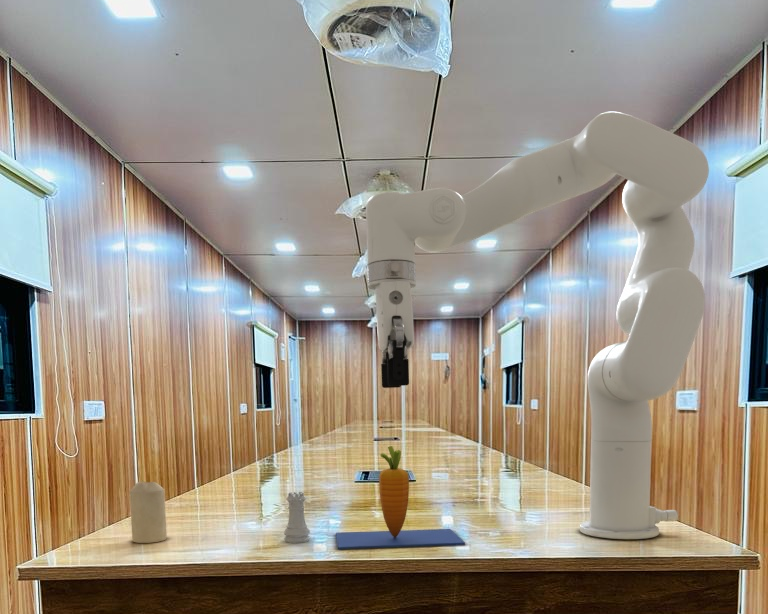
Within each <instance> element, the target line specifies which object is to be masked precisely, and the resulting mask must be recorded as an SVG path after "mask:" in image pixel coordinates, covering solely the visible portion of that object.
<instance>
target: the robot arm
mask: <svg viewBox="0 0 768 614" xmlns="http://www.w3.org/2000/svg"><path fill="white" fill-rule="evenodd" d="M709 171H710V168H709V161H708V159H707V156H706V154H705V153H704V152H703V150H701V148H700V147H699V146H698V145H696V144H694V143H693V142H691V141H690V140H688V139H686V138H684V137H682V136H680V135H677V134H676V133H673V132H671V131H668V130H666V129H664V128H662V127H660V126H658V125H655V124H653V123H651V122H648V121H646V120H645V119H642V118H640V117H636V116H633V115H631V114H626V113H623V112H619V111H605V112H603V113H599V114H597V115H596V116H595V117H594V118H592V119H591V120H590V121H589V122H588V123H587V125H585V126H584V128H583V129H582V130H581V132H579V133H578V134H576V135H575V136H572V137H570V138H568V139H565V140H562V141H559V142H557V143H554V144H551V145H549V146H547V147H544V148H542V149H539V150H536V151H533V152H530V153H528V154H524V155H523V156H519V157H517V158H515V159H513V160H511V161H510V162H508V163H506V164H505V165H503V166H502V167H500V169H498V171H496V172H495V173H493V174H492V175H491V176H490V177H489V178H488V179H487V180H485V181H484V182H482V183H481V184H479V185H478V186H476V187H475V188H473V189H471V190H470V191H467V192H466V193H464V194H461V195H460V194H459V193H458V192H457V191H456V190H454V189H450V188H448V187H433V188H428V189H423V190H418V191H412V192H405V193H404V192H399V191H382V192H379V193H376V194H373V195H372V196H370V197H368V200H367V201H366V203H365V226H366V257H367V258H366V259H367V287H368V289H370V290H373V291H375V310H376V314H375V315H376V331H377V343H378V350H380V351H381V352H382V353H381V363H380V366H381V367H380V369H381V387H382V388H383V389H395V388H400V387H402V386H409V384H410V367H409V363H410V362H409V361H410V360H409V357H408V350H410V349H411V348H413V347H414V346H415V327H414V310H413V308H414V307H413V299H412V297H413V296H412V289H413V288H415V287H416V285H417V283H416V247H415V245H416V246H417V247H418V248H419V249H421V250H423V251H424V252H426V253H432V254H434V253H441V252H444V251H447V250H450V249H453V248H455V247H458V246H461V245H463V244H467V243H468V242H471V241H474V240H476V239H479V238H481V237H483V236H486V235H487V234H489V233H490V234H491V233H492V232H493V231H494V232H495V231H496V230H498V229H500V228H503V227H505V226H508V225H510V224H513V223H515V222H517V221H519V220H521V219H523V218H525V217H527V216H530V215H532V214H535V213H536V212H539V211H541V210H545V209H547V208H549V207H553V206H555V205H558V204H561V203H562V202H565V201H568V200H571V199H574V198H576V197H579V196H581V195H584V194H587V193H590V192H592V191H594V190H596V189H599V188H601V187H602V186H604V185H605V184H607V183H608V182H610V181H611V180H612V179H614V177H616V176H617V175H618V176H620V177H621V178H623V179H625V180H627V181H626V183H625V184H624V187H623V190H622V194H621V195H622V197H621V202H622V206H623V210H624V212H625V214H626V215H627V217H628V218H629V220H630V222H631V223H632V225H633V227H634V229H635V230H636V235H637V239H638V242H637V249H636V253H635V256H634V259H633V263H632V265H631V268H630V271H629V274H628V276H627V279H626V281H625V284H624V287H623V289H622V292H621V295H620V298H619V300H618V303H617V306H616V313H615V314H616V315H615V318H616V319H615V320H616V322H617V325H618V327H619V329H620V330H621V331H622V332H623V333H624V334H626V335H628V338H627V340H625V341H621V342H616V343H613V344H611V345H608V346H605V347H604V348H602V349H601V350H600V351H598V352H597V354H595V356H594V357H593V359H592V360H591V362H590V365H589V367H588V371H587V390H588V398H589V406H590V430H591V431H590V460H589V463H590V465H589V467H590V468H589V469H590V470H589V511H588V512H589V520H588V521H587V520H586V521H584V522H582V523H580V524H579V531H580V532H581V534H583V535H584V534H585V535H587V536H591V537H596V538H601V539H612V540H645V539H651V538H655V537H657V536H659V534H660V527H659V526H657V525H658V524H659V523H660V522H666V523H667V522H677V521H678V520H679V513H678V511H677V510H676V509H664V510H662V509H658V508H657V507H655V506H651V505H650V504H651V472H652V470H651V467H652V440H653V423H652V422H653V421H652V414H651V408H650V403H649V401H653V400H656V399H659V398H661V397H663V396H665V395H666V394H668V393H669V392H670V391H671V390H672V389H673V388H674V386H676V383H677V382H678V380H679V378H680V377H681V374H682V372H683V370H684V367H685V364H686V363H687V359H688V357H689V355H690V353H691V349H692V347H693V344H694V341H695V339H696V335H697V333H698V330H699V328H700V325H701V323H702V319H703V317H704V316H703V315H704V311H705V307H706V296H705V288H704V286H703V283H702V281H701V280H700V278H699V277H698V276H697V274H695V273H694V272H692V271H691V270H689V269H690V265H691V262H692V259H693V256H694V251H695V234H694V231H693V230H694V229H693V227H692V225H691V223H690V221H689V218H688V216H687V214H686V212H685V210H684V209H683V207H682V206H684V205H685V204H687V203H688V202H690V201H692V200H693V199H694V198H695V197H696V196H698V195H699V193H701V191H703V189H704V187H705V185H706V184H707V181H708V178H709ZM656 524H657V525H656Z"/></svg>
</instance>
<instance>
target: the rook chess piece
mask: <svg viewBox="0 0 768 614" xmlns="http://www.w3.org/2000/svg"><path fill="white" fill-rule="evenodd" d="M285 500H286V501H287V502H288V507H287V509H288V520H287V525H286V528H285V529H284V531H283V534H284V537H283V540H284V541H285V542H286V543H289V544H303V543H307V542H309V541H310V540H311V538H312V537H311V536H310V533H311V530H310V529H309V527H308V525H307V523H306V518H305V509H306V507H305V505H304V503H305V501H306V500H307V498H306V496H305V494H304V491H303V492H302V491H299V492H298V491H293V492H291V491H290V492H288V493H287V497H286V499H285Z"/></svg>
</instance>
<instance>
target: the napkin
mask: <svg viewBox="0 0 768 614" xmlns="http://www.w3.org/2000/svg"><path fill="white" fill-rule="evenodd" d="M335 539H336V545H337V550H339V551H340V550H365V549H390V548H391V549H394V548H420V547H421V548H422V547H423V548H424V547H447V546H466V542H465V541H464V540H463V539H461V537H460V536H458V534H456V533H455V532H454V531H453V530H452V529H451V528H434V529H433V528H431V529H429V528H428V529H405V530H404V529H403V530H402V529H401V530H400V532H399V535H398V536H397V537H395V538H394V537H393V536H392V535H391V533H390V531H389V530H376V531H372V530H371V531H346V532H345V531H344V532H335Z"/></svg>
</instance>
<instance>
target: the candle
mask: <svg viewBox="0 0 768 614" xmlns="http://www.w3.org/2000/svg"><path fill="white" fill-rule="evenodd" d="M165 496H166V495H165V488H163V487H162V485H160V484H158V483H157V482H156V481H144V480H142V481H141V480H140V481H137V482H136V483H135V484H134V485H133V487H132V488H131V489H130V490H129V507H130V523H131V535H132V536H131V539H132V542H133V543H136V544H152V543H158V542H163V541H165V540H167V539H168V538H167V535H168V534H167V533H168V531H167V516H166V515H167V514H166V497H165Z"/></svg>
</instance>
